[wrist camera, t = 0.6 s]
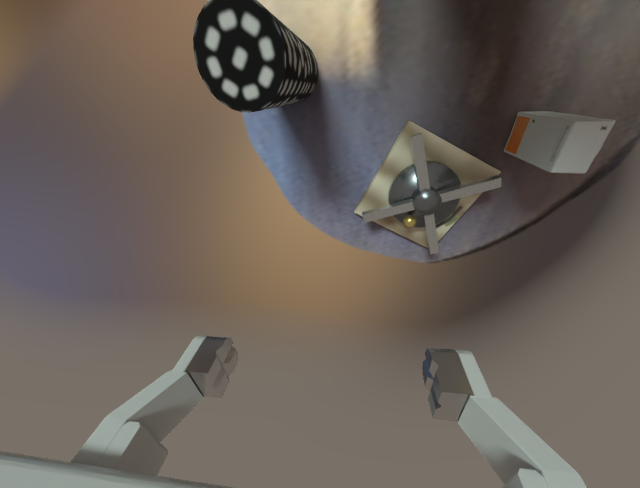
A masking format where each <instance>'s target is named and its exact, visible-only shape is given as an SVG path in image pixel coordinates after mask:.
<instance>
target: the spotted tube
mask: <svg viewBox="0 0 640 488" xmlns="http://www.w3.org/2000/svg"><path fill="white" fill-rule="evenodd" d="M193 41H194V54H195V59H196V64H197V66H198V70H199V72H200V75H201V77H202V79H203V81H204V83H205V84H206V86H207V87H208V89H209V90H210V91H211V93H212V94H213V95H214V96H215V97H216V98H217V99H218V100H219V101H220V102H222V103H223V104H224V105H226V106H228V107H229V108H231V109H234V110H237V111H240V112H255V111H260V110H265V109H269V108H274V107H279V106H283V105H288V104H293V103H297V102H300V101H303V100H304V99H306V98H307V97H308V96H309V95H310V94H311V93H312V91H313V89H314V87H315V85H316V81H317V75H318V69H317V63H316V59H315V57H314V54H313V52H312V51H311V49H310V48H309V47H308V46H307V45H306V44H305V43H304V42H303V41H302V40H301V39H300V38H298V37H297V36H296V35H295V34H294V33H293V32H292V31H291V30H289V29H288V28H287V27H286V26H285V25H284V24H283V23H282V22H281V21H279V20H278V19H277V18H276V17H275V16H274V15H273V14H272V13H270V12H269V11H268V10H267V9H266V8H265V7H264V6H263V5H261V4H260V3H259V2H258V1H257V0H209V1H208V2H207V4H206V5H205V6H204V7H203V8H202V10H201V12H200V14H199V16H198V18H197V22H196V25H195V30H194V37H193Z"/></svg>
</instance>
